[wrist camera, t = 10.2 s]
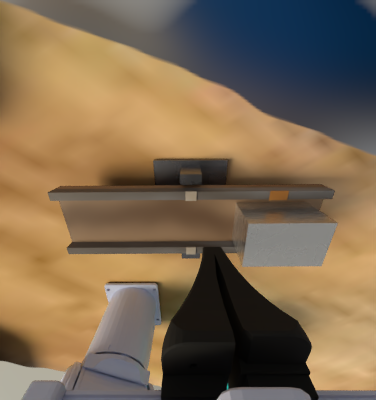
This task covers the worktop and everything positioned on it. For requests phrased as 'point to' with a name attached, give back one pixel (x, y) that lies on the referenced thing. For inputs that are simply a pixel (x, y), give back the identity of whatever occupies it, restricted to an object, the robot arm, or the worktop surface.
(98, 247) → the beam
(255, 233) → the block
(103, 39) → the worktop surface
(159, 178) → the pivot stand
